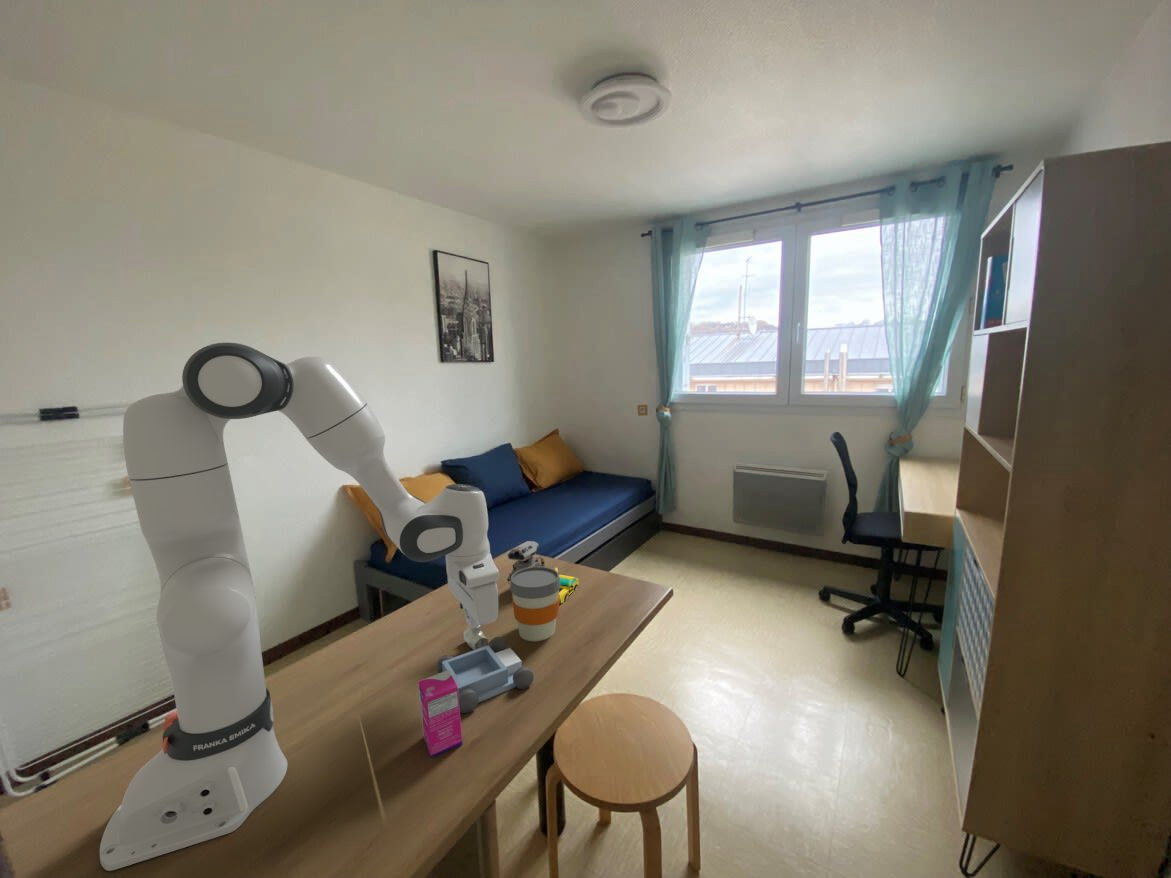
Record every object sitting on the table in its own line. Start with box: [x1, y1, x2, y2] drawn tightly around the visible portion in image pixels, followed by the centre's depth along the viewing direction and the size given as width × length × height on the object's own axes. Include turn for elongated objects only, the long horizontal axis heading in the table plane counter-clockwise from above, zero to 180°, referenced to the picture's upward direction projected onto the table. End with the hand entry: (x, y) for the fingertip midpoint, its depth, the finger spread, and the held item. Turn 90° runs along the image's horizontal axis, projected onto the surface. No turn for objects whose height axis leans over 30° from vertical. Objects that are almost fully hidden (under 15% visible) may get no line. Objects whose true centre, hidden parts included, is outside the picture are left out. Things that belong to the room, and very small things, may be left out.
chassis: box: [435, 636, 534, 714], centre depth 100 cm, size 16×15×4 cm
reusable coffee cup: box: [509, 566, 561, 642], centre depth 117 cm, size 13×13×15 cm
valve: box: [459, 601, 489, 651], centre depth 112 cm, size 7×7×12 cm
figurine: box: [506, 540, 546, 583], centre depth 139 cm, size 9×12×15 cm
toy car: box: [554, 567, 580, 604], centre depth 137 cm, size 12×8×8 cm, turn 156°
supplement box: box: [417, 670, 464, 758], centre depth 83 cm, size 6×6×12 cm
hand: (472, 625), depth 97 cm, fingers closed
